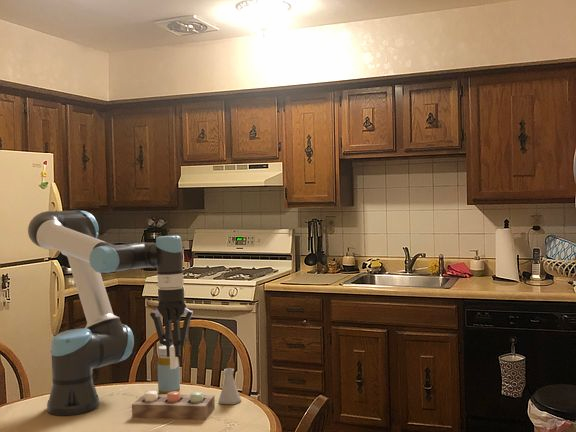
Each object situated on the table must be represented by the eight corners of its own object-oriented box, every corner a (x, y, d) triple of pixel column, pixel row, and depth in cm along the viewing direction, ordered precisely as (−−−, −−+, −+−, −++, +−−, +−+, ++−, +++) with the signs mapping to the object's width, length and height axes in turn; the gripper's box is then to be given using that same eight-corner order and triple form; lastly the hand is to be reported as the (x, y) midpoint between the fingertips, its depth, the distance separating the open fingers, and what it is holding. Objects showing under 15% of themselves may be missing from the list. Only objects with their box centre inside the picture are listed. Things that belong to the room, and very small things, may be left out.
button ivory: (142, 406, 182) (142, 394, 182) (147, 402, 186) (147, 390, 186) (155, 406, 182) (154, 394, 182) (159, 402, 186) (159, 391, 185)
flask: (237, 405, 188) (236, 373, 188) (215, 404, 190) (214, 372, 190) (244, 398, 196) (243, 366, 195) (222, 397, 197) (221, 366, 197)
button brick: (165, 407, 181) (165, 395, 181) (169, 402, 185) (169, 391, 185) (178, 407, 181) (177, 395, 181) (182, 403, 184) (181, 391, 184)
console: (132, 417, 180) (131, 404, 180) (145, 406, 189) (144, 393, 189) (205, 420, 176) (205, 406, 176) (214, 408, 186) (214, 395, 186)
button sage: (188, 407, 180) (188, 395, 180) (192, 403, 184) (192, 391, 184) (201, 407, 180) (200, 395, 180) (204, 403, 183) (204, 392, 183)
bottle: (177, 395, 201) (176, 349, 200) (156, 395, 201) (155, 349, 200) (181, 388, 208) (180, 344, 207) (161, 389, 208) (159, 344, 207)
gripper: (145, 290, 179) (148, 371, 180) (188, 289, 178) (191, 371, 178) (154, 286, 187) (157, 364, 187) (196, 286, 185) (199, 364, 185)
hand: (174, 367), depth 182 cm, fingers closed
